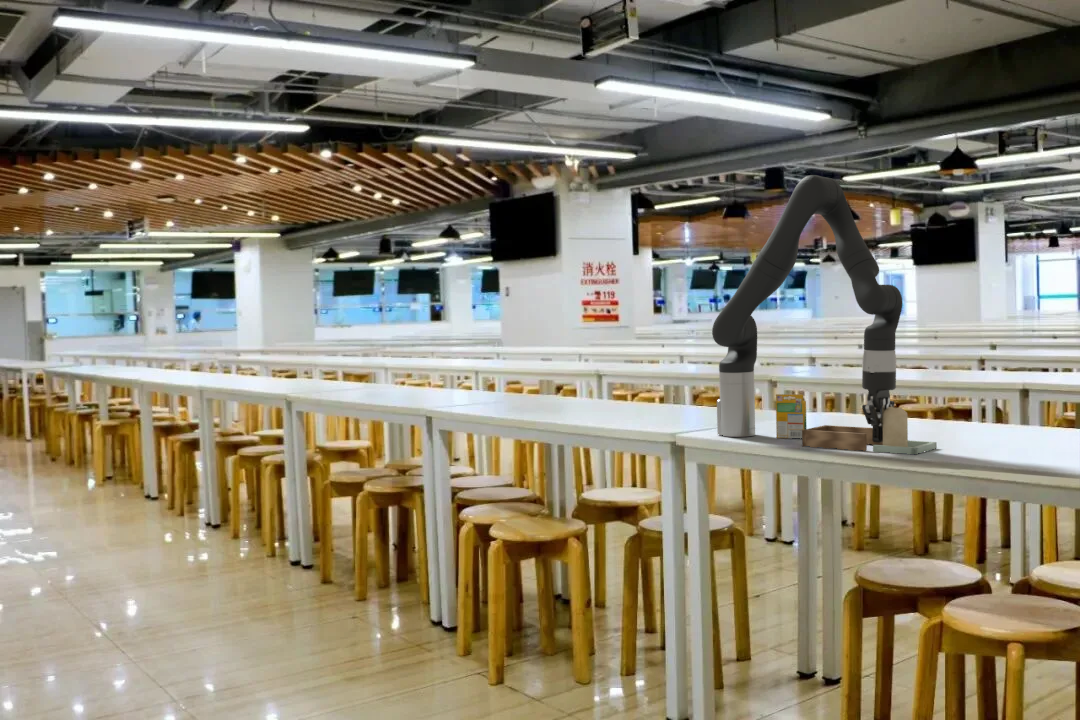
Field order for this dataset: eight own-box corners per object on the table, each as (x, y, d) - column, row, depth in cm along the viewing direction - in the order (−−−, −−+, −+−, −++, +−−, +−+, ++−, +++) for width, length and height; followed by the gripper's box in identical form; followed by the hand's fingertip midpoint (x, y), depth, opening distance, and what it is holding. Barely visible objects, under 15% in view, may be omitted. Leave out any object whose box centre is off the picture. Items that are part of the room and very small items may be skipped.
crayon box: (807, 437, 252) (806, 393, 251) (804, 439, 249) (803, 394, 249) (779, 437, 255) (778, 393, 255) (776, 438, 253) (775, 394, 252)
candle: (912, 449, 225) (912, 406, 225) (896, 451, 223) (896, 408, 222) (894, 447, 230) (893, 405, 230) (877, 449, 227) (877, 406, 227)
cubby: (802, 446, 236) (801, 430, 236) (825, 440, 245) (825, 425, 244) (864, 451, 225) (864, 434, 225) (886, 445, 234) (886, 428, 233)
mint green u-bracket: (873, 451, 224) (872, 445, 223) (894, 445, 232) (894, 439, 232) (915, 454, 217) (915, 448, 217) (936, 448, 225) (936, 442, 225)
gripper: (876, 367, 235) (874, 437, 236) (851, 370, 225) (850, 443, 226) (906, 368, 230) (905, 440, 231) (882, 371, 220) (881, 447, 221)
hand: (878, 442), depth 229 cm, fingers closed
